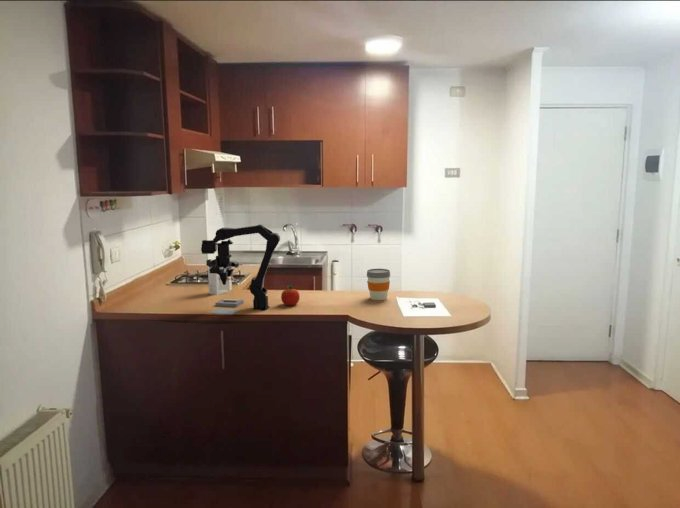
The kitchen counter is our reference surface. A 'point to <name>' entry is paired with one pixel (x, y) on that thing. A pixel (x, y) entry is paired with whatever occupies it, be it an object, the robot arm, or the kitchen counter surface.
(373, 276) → the reusable coffee cup
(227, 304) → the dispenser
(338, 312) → the kitchen counter surface
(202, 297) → the kitchen counter surface
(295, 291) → the fruit
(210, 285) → the skincare box
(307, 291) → the kitchen counter surface
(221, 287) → the tan banded white slab
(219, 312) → the mat
